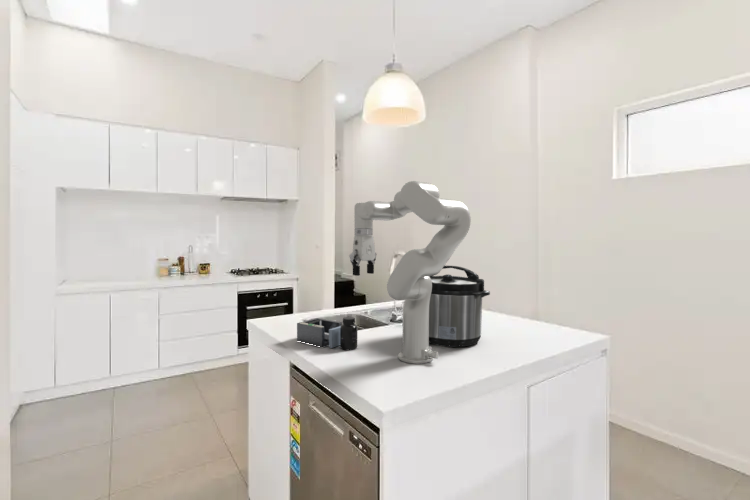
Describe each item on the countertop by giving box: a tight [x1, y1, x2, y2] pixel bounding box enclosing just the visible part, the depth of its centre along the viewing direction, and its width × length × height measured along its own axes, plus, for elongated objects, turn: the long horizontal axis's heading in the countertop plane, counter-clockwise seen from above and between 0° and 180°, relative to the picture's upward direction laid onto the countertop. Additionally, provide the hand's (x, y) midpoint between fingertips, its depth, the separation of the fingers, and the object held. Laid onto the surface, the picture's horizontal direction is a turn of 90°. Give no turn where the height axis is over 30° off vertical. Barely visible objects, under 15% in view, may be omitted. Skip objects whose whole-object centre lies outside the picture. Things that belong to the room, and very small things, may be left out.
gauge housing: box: [296, 317, 343, 348], centre depth 162 cm, size 14×12×8 cm
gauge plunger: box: [308, 320, 341, 349], centre depth 159 cm, size 13×12×9 cm
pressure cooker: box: [429, 265, 491, 348], centre depth 166 cm, size 30×28×32 cm
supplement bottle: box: [339, 316, 358, 351], centre depth 153 cm, size 7×7×12 cm
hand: (363, 274), depth 161 cm, fingers open, 9 cm apart
